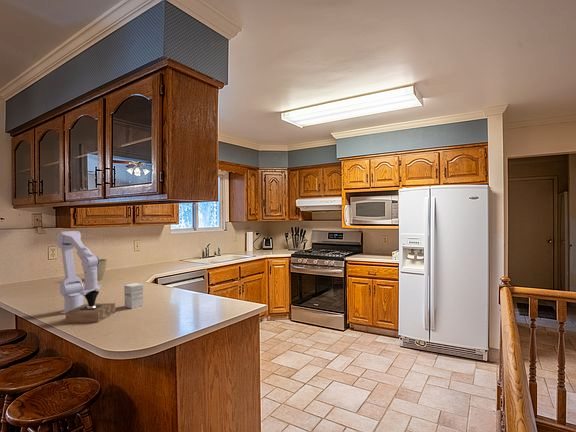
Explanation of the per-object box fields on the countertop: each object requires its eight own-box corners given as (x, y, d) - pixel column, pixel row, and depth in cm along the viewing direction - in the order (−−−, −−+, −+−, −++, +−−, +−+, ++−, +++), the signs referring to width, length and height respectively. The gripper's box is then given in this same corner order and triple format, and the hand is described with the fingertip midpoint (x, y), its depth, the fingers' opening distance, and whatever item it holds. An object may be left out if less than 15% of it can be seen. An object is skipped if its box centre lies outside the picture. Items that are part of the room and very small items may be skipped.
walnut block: (85, 312, 178) (85, 302, 178) (115, 312, 178) (115, 302, 178) (65, 322, 162) (65, 311, 162) (98, 322, 162) (98, 311, 162)
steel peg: (90, 314, 172) (89, 304, 172) (97, 314, 172) (97, 304, 172) (85, 316, 168) (85, 307, 168) (93, 316, 168) (93, 306, 168)
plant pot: (92, 278, 276) (91, 259, 276) (110, 277, 277) (110, 258, 277) (82, 282, 261) (81, 262, 261) (101, 281, 262) (101, 261, 262)
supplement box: (124, 307, 188) (123, 284, 188) (136, 304, 195) (135, 282, 194) (131, 309, 184) (131, 286, 184) (143, 305, 191) (143, 283, 190)
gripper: (90, 282, 163) (91, 309, 163) (106, 276, 177) (107, 302, 178) (75, 282, 163) (76, 310, 163) (93, 277, 177) (93, 302, 178)
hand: (91, 306), depth 170 cm, fingers closed, pressing on steel peg
